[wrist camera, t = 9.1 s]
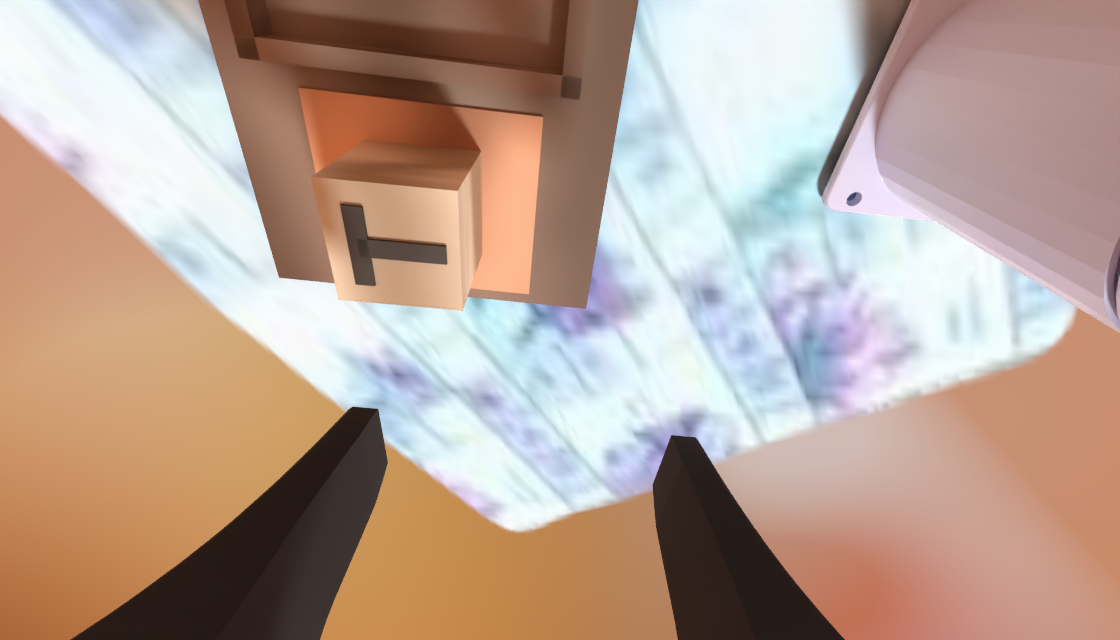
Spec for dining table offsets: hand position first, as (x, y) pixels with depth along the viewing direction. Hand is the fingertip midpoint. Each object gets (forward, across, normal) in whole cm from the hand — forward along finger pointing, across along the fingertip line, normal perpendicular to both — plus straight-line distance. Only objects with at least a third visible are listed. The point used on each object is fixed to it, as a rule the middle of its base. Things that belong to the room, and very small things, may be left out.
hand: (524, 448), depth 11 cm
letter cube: (+9, +4, -3) cm, 10 cm away
